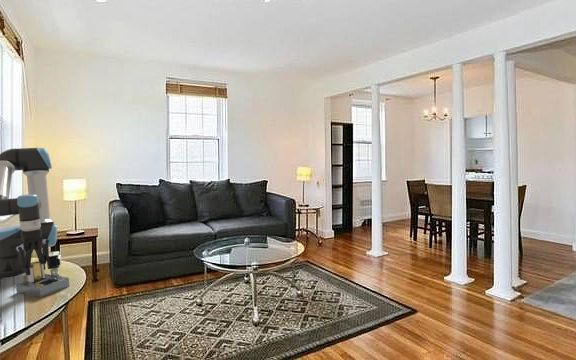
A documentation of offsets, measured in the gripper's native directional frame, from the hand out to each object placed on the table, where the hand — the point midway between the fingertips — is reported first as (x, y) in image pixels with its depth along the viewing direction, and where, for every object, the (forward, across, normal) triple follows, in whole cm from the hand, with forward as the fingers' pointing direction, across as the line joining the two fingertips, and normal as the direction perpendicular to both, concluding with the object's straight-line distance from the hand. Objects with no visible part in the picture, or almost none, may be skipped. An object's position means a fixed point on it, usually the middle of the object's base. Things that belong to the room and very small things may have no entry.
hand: (36, 279), depth 163 cm
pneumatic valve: (+4, +15, +9) cm, 18 cm away
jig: (+4, 0, -4) cm, 6 cm away
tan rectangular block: (+4, 0, 0) cm, 4 cm away
